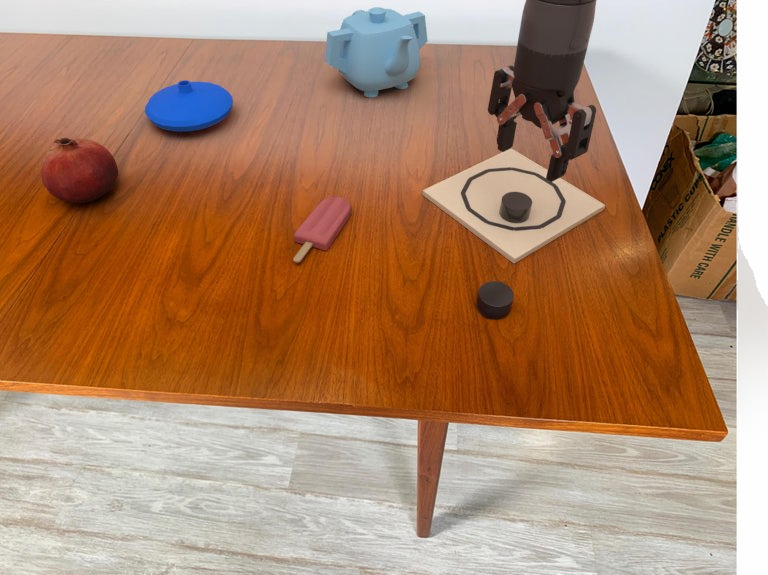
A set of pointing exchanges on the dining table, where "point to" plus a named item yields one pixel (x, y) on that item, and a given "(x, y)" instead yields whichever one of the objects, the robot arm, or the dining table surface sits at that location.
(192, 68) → the dining table surface
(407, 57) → the teapot
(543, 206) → the board
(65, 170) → the fruit
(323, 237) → the popsicle
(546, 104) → the robot arm
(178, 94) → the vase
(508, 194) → the dot left
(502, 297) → the dot right
